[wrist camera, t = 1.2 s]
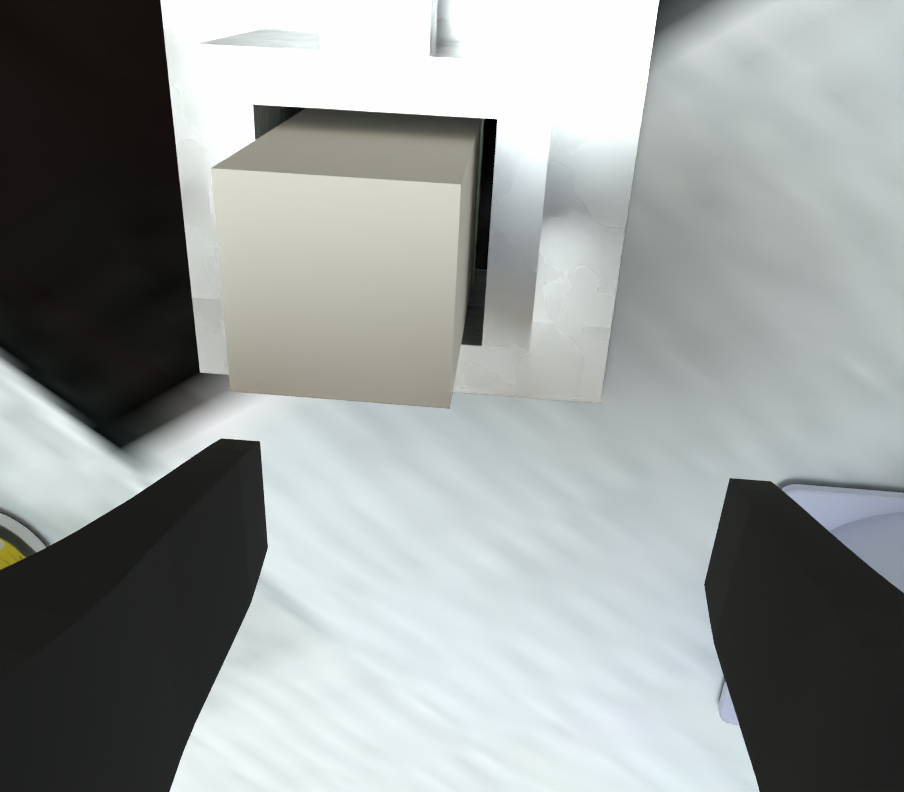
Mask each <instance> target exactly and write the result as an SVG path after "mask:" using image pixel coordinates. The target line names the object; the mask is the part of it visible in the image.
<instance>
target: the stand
mask: <svg viewBox="0 0 904 792" xmlns="http://www.w3.org/2000/svg"><path fill="white" fill-rule="evenodd" d="M658 3H659V0H161V9H162V18H163V27H164V37H165V46H166V56H167V65H168V74H169V84H170V93H171V103H172V112H173V122H174V131H175V140H176V150H177V159H178V169H179V178H180V187H181V197H182V206H183V216H184V225H185V234H186V244H187V253H188V263H189V272H190V282H191V291H192V300H193V310H194V319H195V329H196V338H197V347H198V357H199V366H200V372H201V373H214V374H227V375H229V368H228V357H227V346H226V335H225V323H224V312H223V301H222V289H221V278H220V267H219V255H218V244H217V233H216V221H215V210H214V199H213V187H212V176H211V168H212V167H214V166H215V165H217V164H218V163H220V162H222V161H223V160H225V159H226V158H228V157H229V156H231V155H233V154H234V153H236V152H237V151H239V150H241V149H242V148H244V147H245V146H247V145H248V144H250V143H252V142H253V141H255V140H256V139H258V138H260V137H261V136H263V135H264V134H266V133H267V132H269V131H271V130H272V129H274V128H275V127H277V126H278V125H280V124H282V123H283V122H285V121H286V120H288V119H290V118H291V117H293V116H294V115H296V114H297V113H299V112H301V111H302V110H304V109H305V108H322V109H338V110H355V111H372V112H388V113H405V114H421V115H438V116H454V117H471V118H487V119H497V133H496V147H495V162H494V177H493V191H492V206H491V221H490V236H489V250H488V265H487V269H476V275H475V281H474V286H471V291H470V296H469V302H468V308H467V313H466V319H465V325H464V331H463V336H462V342H461V348H460V353H459V359H458V365H457V370H456V376H455V382H454V387H453V392H459V393H472V394H485V395H498V396H511V397H524V398H537V399H550V400H563V401H576V402H589V403H600V402H601V395H602V388H603V381H604V374H605V368H606V361H607V354H608V347H609V340H610V333H611V326H612V319H613V312H614V306H615V299H616V292H617V285H618V278H619V271H620V264H621V257H622V251H623V244H624V237H625V230H626V223H627V216H628V209H629V202H630V196H631V189H632V182H633V175H634V168H635V161H636V154H637V147H638V140H639V134H640V127H641V120H642V113H643V106H644V99H645V92H646V85H647V79H648V72H649V65H650V58H651V51H652V44H653V37H654V30H655V23H656V17H657V10H658Z"/></svg>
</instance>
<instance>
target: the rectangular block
mask: <svg viewBox="0 0 904 792" xmlns="http://www.w3.org/2000/svg"><path fill="white" fill-rule="evenodd" d="M484 129H485V118H471V117H454V116H438V115H421V114H405V113H388V112H372V111H355V110H338V109H322V108H305V109H304V110H302V111H301V112H299V113H297V114H296V115H294V116H293V117H291V118H290V119H288V120H286V121H285V122H283V123H282V124H280V125H278V126H277V127H275V128H274V129H272V130H271V131H269V132H267V133H266V134H264V135H263V136H261V137H260V138H258V139H256V140H255V141H253V142H252V143H250V144H248V145H247V146H245V147H244V148H242V149H241V150H239V151H237V152H236V153H234V154H233V155H231V156H229V157H228V158H226V159H225V160H223V161H222V162H220V163H218V164H217V165H215V166H214V167H212V168H211V176H212V187H213V199H214V210H215V221H216V233H217V244H218V255H219V267H220V278H221V289H222V301H223V312H224V323H225V335H226V346H227V357H228V368H229V380H230V391H233V392H245V393H258V394H271V395H284V396H296V397H309V398H322V399H335V400H347V401H360V402H373V403H386V404H398V405H411V406H424V407H437V408H449V409H450V404H451V399H452V393H453V387H454V382H455V376H456V370H457V365H458V359H459V353H460V348H461V342H462V336H463V331H464V325H465V319H466V313H467V308H468V302H469V296H470V291H471V286H474V281H475V275H476V260H477V244H478V227H479V211H480V195H481V178H482V162H483V146H484Z"/></svg>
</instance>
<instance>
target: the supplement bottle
mask: <svg viewBox="0 0 904 792" xmlns="http://www.w3.org/2000/svg"><path fill="white" fill-rule="evenodd" d="M45 548H46V546H45V545H44V544H43V543H42V542H41V541H40V540H39V539H38V538H37V537H36V536H35V535H34V534H33V533H32V532H31V531H30V530H28V529H27V528H26V527H24V526H23V525H22V524H20V523H19V522H17V521H16V520H14V519H12V518H10V517H8V516H6V515H4V514H1V513H0V570H1V569H3V568H5V567H7V566H10V565H12V564H14V563H16V562H18V561H20V560H22V559H24V558H26V557H28V556H30V555H32V554H34V553H36V552H39V551H41V550H43V549H45Z"/></svg>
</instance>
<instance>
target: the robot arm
mask: <svg viewBox="0 0 904 792" xmlns="http://www.w3.org/2000/svg"><path fill="white" fill-rule="evenodd" d="M267 548H268V544H267V531H266V517H265V504H264V490H263V477H262V463H261V450H260V442H259V441H246V440H234V439H220V440H218V441H216V442H215V443H213V444H211V445H210V446H208V447H207V448H205V449H204V450H202V451H201V452H199V453H198V454H196V455H195V456H193V457H192V458H190V459H189V460H188V461H186V462H185V463H183V464H182V465H180V466H179V467H177V468H176V469H174V470H173V471H171V472H170V473H169V474H167V475H166V476H164V477H163V478H161V479H160V480H158V481H157V482H155V483H154V484H152V485H151V486H149V487H148V488H146V489H145V490H143V491H142V492H140V493H139V494H137V495H136V496H134V497H133V498H131V499H129V500H128V501H126V502H125V503H123V504H121V505H120V506H118V507H116V508H115V509H113V510H111V511H110V512H108V513H106V514H105V515H103V516H101V517H100V518H98V519H96V520H95V521H93V522H91V523H90V524H88V525H86V526H85V527H83V528H81V529H80V530H78V531H76V532H75V533H73V534H71V535H69V536H67V537H65V538H64V539H62V540H60V541H58V542H56V543H54V544H52V545H50V546H48V547H47V548H45V549H43V550H41V551H39V552H36V553H34V554H32V555H30V556H28V557H26V558H24V559H22V560H20V561H18V562H16V563H14V564H12V565H10V566H7V567H5V568H3V569H1V570H0V792H169V791H170V788H171V785H172V783H173V780H174V777H175V774H176V771H177V768H178V765H179V762H180V759H181V756H182V754H183V751H184V749H185V746H186V744H187V741H188V739H189V736H190V734H191V732H192V729H193V727H194V724H195V722H196V720H197V718H198V716H199V714H200V712H201V709H202V707H203V705H204V703H205V701H206V699H207V697H208V694H209V692H210V690H211V688H212V686H213V684H214V682H215V680H216V677H217V675H218V673H219V671H220V669H221V667H222V665H223V662H224V660H225V658H226V656H227V654H228V652H229V650H230V648H231V645H232V643H233V641H234V639H235V637H236V634H237V632H238V630H239V628H240V626H241V624H242V621H243V619H244V617H245V615H246V613H247V610H248V608H249V606H250V604H251V601H252V598H253V595H254V591H255V588H256V585H257V582H258V579H259V576H260V572H261V569H262V565H263V562H264V559H265V555H266V552H267ZM704 585H705V592H706V598H707V605H708V611H709V618H710V623H711V629H712V634H713V640H714V645H715V648H716V651H717V655H718V658H719V661H720V665H721V668H722V671H723V674H724V678H725V683H724V686H723V690H722V694H721V697H720V701H719V705H718V710H719V714H720V717H721V719H722V720H723V721H725V722H726V723H729V724H734V725H740V728H741V732H742V735H743V738H744V741H745V744H746V747H747V751H748V754H749V757H750V760H751V763H752V766H753V769H754V773H755V776H756V779H757V783H758V787H759V791H760V792H904V493H901V492H888V491H876V490H864V489H851V488H839V487H827V486H815V485H802V484H791V485H787V486H785V487H783V488H782V489H780V488H779V487H777V486H776V485H775V484H774V483H772V482H771V481H758V480H745V479H732V478H730V480H729V484H728V488H727V492H726V496H725V501H724V505H723V509H722V513H721V517H720V521H719V526H718V530H717V534H716V538H715V542H714V546H713V551H712V555H711V559H710V563H709V567H708V571H707V576H706V580H705V584H704Z"/></svg>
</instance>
